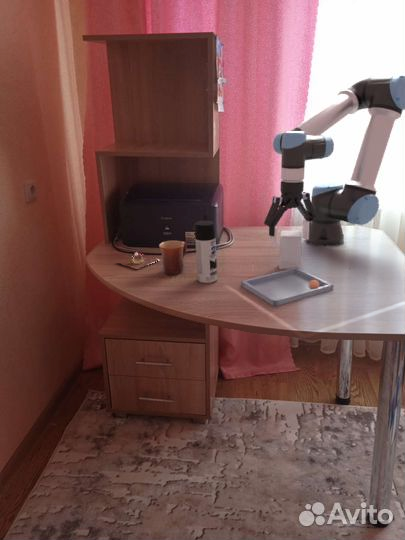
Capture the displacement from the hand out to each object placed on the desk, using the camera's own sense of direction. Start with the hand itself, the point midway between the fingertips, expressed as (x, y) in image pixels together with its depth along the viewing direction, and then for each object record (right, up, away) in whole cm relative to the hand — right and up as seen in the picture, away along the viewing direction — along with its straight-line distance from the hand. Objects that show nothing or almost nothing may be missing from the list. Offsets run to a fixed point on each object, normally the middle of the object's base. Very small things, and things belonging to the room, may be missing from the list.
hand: (289, 241), depth 163 cm
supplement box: (+1, -9, +4) cm, 10 cm away
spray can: (-29, -13, -4) cm, 32 cm away
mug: (-39, -10, +6) cm, 41 cm away
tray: (-4, -16, -14) cm, 22 cm away
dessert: (-54, -8, +15) cm, 57 cm away
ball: (+4, -16, -17) cm, 24 cm away
